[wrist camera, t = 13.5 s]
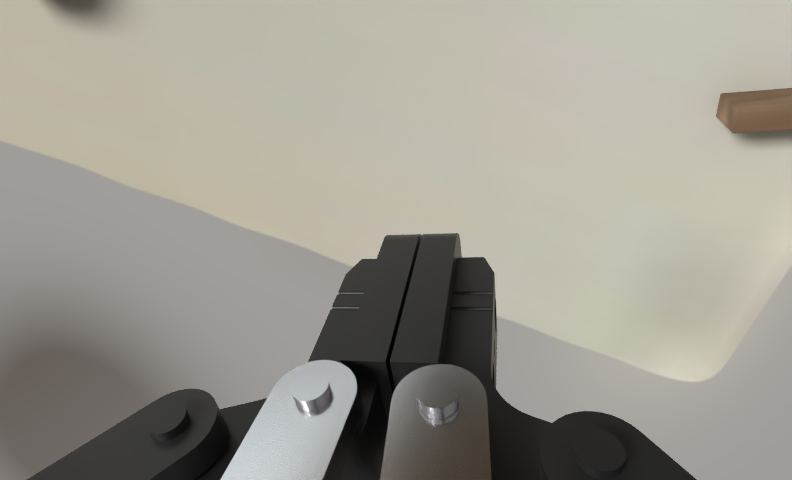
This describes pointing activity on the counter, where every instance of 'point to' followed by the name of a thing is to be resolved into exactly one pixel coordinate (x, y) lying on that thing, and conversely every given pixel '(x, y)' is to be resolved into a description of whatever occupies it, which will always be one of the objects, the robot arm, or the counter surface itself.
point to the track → (756, 110)
